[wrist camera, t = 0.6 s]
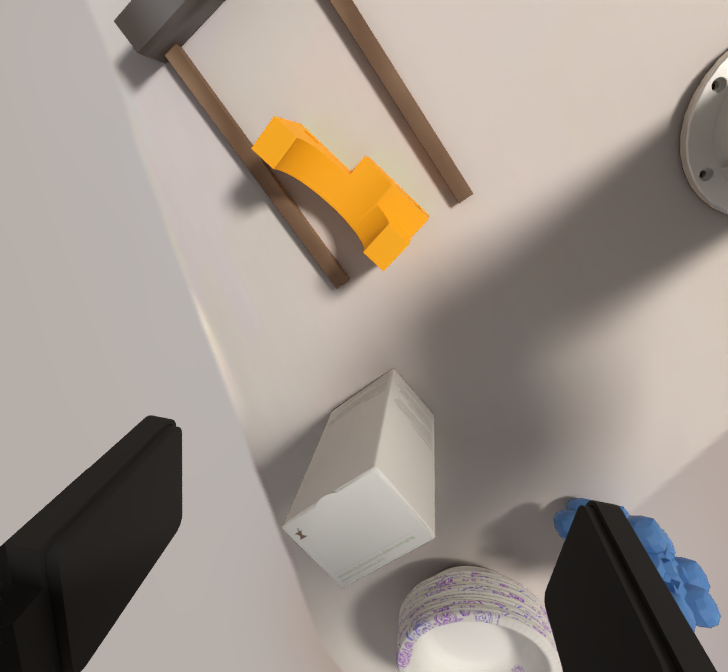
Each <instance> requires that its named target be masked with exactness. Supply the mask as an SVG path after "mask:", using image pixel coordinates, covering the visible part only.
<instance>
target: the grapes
mask: <svg viewBox="0 0 728 672" xmlns="http://www.w3.org/2000/svg"><path fill="white" fill-rule="evenodd" d="M589 501H591V500H588V499H584V498H574V499H572V500H570V501H569V502H568V504H567V506H566V508H567V510H561V511H559V512H557V513H556V514H555V517H554V525H555V528H556V530H557V531H558V533H559V535H560V536H561V537H562V538H563V539H564V540H565V539H566V537H567V534H568V532H569V529H570V527H571V524H572V521H573V519H574V516H575V514H576V511H577V509H578V507H579V506H580V505H584V506H586V504H587V502H589ZM617 506H618V505H617ZM619 507H620V508H621V509H622V511H623V512H624V514H625V516H626V518H627V519H628V521H629V523H630V524H631V526H632V528H633V529H634V531H635V533H636V535H637V536H638V538H639V540H640V541H641V543H642V545H643V547H644V548H645V550H646V552H647V553H648V555H649V557H650V558H651V560H652V562H653V564H654V565H655V567H656V569H657V570H658V572H659V574H660V575H661V577H662V579H663V581H664V582H665V584H666V586H667V587H668V589H669V591H670V592H671V594H672V596H673V598H674V599H675V601H676V603H677V604H678V606H679V608H680V610H681V611H682V613H683V615H684V616H685V618H686V620H687V621H688V623H689V625H690V627H691V628H692V630H693V632H694V631H695V627H696V626H699V627H706V628H712V627H714V626H717V625H718V624H719V621H720V617H721V616H720V613H719V610H718V607H717V604H716V603H715V601H714V600H713V599H712V597H711V595H710V594H709V589H710V585H709V582H708V579H707V576H706V574H705V573H704V571H703V570H702V569H701V567H700V566H699V564H697V562H696V561H693V560H690V559H686V558H683V557H675V553H676V552H675V549H674V546H673V543H672V541H671V540H670V538H669V537H668V535H667V534H666V533H665V532H664V530H663V529H661V528H660V526H659V525H658V523H657V522H656V521H655V520H654V519H653V518H648V517H644V516H630V515H629V513H628V512H627V511H626V509H625V508H624V507H622V506H619Z"/></svg>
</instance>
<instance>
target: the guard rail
mask: <svg viewBox="0 0 728 672" xmlns="http://www.w3.org/2000/svg"><path fill="white" fill-rule="evenodd" d="M224 1H225V0H131V2H130V3H129V4H128V5H127V6H126V7H125V9H124V10H123V11H122V12H121V13H120V14H119V16H118V17H117V18H116V19H115V20H114V22H115V23H116V25H117V26H118V27H119V29H120V30H121V31H122V33H123V34H124V35H125V37H126V38H127V39H128V41H129V42H130V43H131V45H132V46H133V47H134V49H135V50H136V51H137V53H139V54H142V55H144V56H147V57H150V58H152V59H155V60H158V61H161V62H163V63H166V62H167V61H169V62H170V63H171V65H172V66H173V67H174V69H175V70H176V71H177V73H178V74H179V75H180V77H181V78H182V80H183V81H184V82H185V84H186V85H187V86H188V88H189V89H190V90H191V92H192V93H193V94H194V96H195V97H196V99H197V100H198V101H199V103H200V104H201V105H202V107H203V108H204V109H205V111H206V112H207V113H208V115H209V116H210V118H211V119H212V120H213V122H214V123H215V124H216V126H217V127H218V128H219V130H220V131H221V132H222V134H223V135H224V137H225V138H226V139H227V141H228V142H229V143H230V145H231V146H232V147H233V149H234V150H235V151H236V153H237V154H238V156H239V157H240V158H241V160H242V161H243V162H244V164H245V165H246V166H247V168H248V169H249V170H250V172H251V173H252V175H253V176H254V177H255V179H256V180H257V181H258V183H259V184H260V185H261V187H262V188H263V189H264V191H265V192H266V194H267V195H268V196H269V198H270V199H271V200H272V202H273V203H274V204H275V206H276V207H277V208H278V210H279V211H280V213H281V214H282V215H283V217H284V218H285V219H286V221H287V222H288V223H289V225H290V226H291V227H292V229H293V230H294V232H295V233H296V234H297V236H298V237H299V238H300V240H301V241H302V242H303V244H304V245H305V246H306V248H307V249H308V251H309V252H310V253H311V255H312V256H313V257H314V259H315V260H316V261H317V263H318V264H319V265H320V267H321V268H322V270H323V271H324V272H325V274H326V275H327V276H328V278H329V279H330V280H331V282H332V283H333V284H334V286H335V287H336V289H337V288H338V287H340V286H341V285H343V284H344V283H345V282H347V281H348V280H349V277H348V276H347V275H346V273H345V272H344V270H343V269H342V268H341V266H340V265H339V264H338V262H337V261H336V259H335V258H334V257H333V255H332V254H331V253H330V251H329V250H328V248H327V247H326V246H325V244H324V243H323V242H322V240H321V239H320V237H319V236H318V235H317V233H316V232H315V231H314V229H313V228H312V226H311V225H310V224H309V222H308V221H307V219H306V218H305V217H304V215H303V214H302V213H301V211H300V210H299V208H298V207H297V206H296V204H295V203H294V202H293V200H292V199H291V197H290V196H289V195H288V193H287V192H286V191H285V189H284V188H283V186H282V185H281V184H280V182H279V181H278V180H277V178H276V177H275V175H274V174H273V173H272V171H271V170H270V168H269V167H268V166H267V164H266V163H265V162H264V160H263V159H262V158H261V157H260V156H259V155H258V154H257V153H256V152H254V151H253V150H252V149H251V148H252V147H253V145H252V144H251V142H250V141H249V140H248V138H247V137H246V135H245V134H244V133H243V131H242V130H241V129H240V127H239V126H238V124H237V123H236V122H235V120H234V119H233V117H232V116H231V115H230V113H229V112H228V111H227V109H226V108H225V106H224V105H223V104H222V102H221V101H220V100H219V98H218V97H217V95H216V94H215V93H214V91H213V90H212V89H211V87H210V86H209V84H208V83H207V82H206V80H205V79H204V78H203V76H202V75H201V73H200V72H199V71H198V69H197V68H196V66H195V65H194V64H193V62H192V61H191V60H190V58H189V57H188V55H187V54H186V53H185V51H184V50H183V49H182V47H181V46H182V45H183V44H184V43H185V42H186V41H187V40H188V39H189V38H190V37H191V36H192V35H193V34H194V32H195V31H196V30H197V29H198V28H199V27H200V26H201V25H202V24H203V23H204V22H205V21H206V20H207V19H208V18H209V17H210V15H211V14H212V13H213V12H214V11H215V10H216V9H217V8H218V7H219V6H220V5H221V4H222V3H223V2H224ZM330 1H331V2H332V4H333V6H334V7H335V9H336V10H337V12H338V13H339V15H340V17H341V18H342V20H343V21H344V23H345V24H346V26H347V28H348V29H349V31H350V32H351V34H352V35H353V37H354V39H355V40H356V42H357V43H358V45H359V46H360V48H361V50H362V51H363V53H364V54H365V56H366V57H367V59H368V61H369V62H370V64H371V65H372V67H373V68H374V70H375V72H376V73H377V75H378V76H379V78H380V79H381V81H382V83H383V84H384V86H385V87H386V89H387V90H388V92H389V93H390V95H391V97H392V98H393V100H394V101H395V103H396V104H397V106H398V108H399V109H400V111H401V112H402V114H403V115H404V117H405V119H406V120H407V122H408V123H409V125H410V126H411V128H412V130H413V131H414V133H415V134H416V136H417V137H418V139H419V141H420V142H421V144H422V145H423V147H424V148H425V150H426V152H427V153H428V155H429V156H430V158H431V159H432V161H433V163H434V164H435V166H436V167H437V169H438V170H439V172H440V174H441V175H442V177H443V178H444V180H445V181H446V183H447V185H448V186H449V188H450V189H451V191H452V192H453V194H454V196H455V197H456V199H457V200H458V202H459V203H461V202H462V201H463V200H465V199H466V198H468V197H469V196H471V195H472V194H473V192H472V191H471V189H470V188H469V186H468V185H467V183H466V181H465V180H464V178H463V177H462V175H461V173H460V172H459V170H458V169H457V167H456V165H455V164H454V162H453V161H452V159H451V157H450V156H449V154H448V153H447V151H446V149H445V148H444V146H443V145H442V143H441V141H440V140H439V138H438V137H437V135H436V133H435V132H434V130H433V129H432V127H431V125H430V124H429V122H428V121H427V119H426V117H425V116H424V114H423V113H422V111H421V110H420V108H419V106H418V105H417V103H416V102H415V100H414V98H413V97H412V95H411V94H410V92H409V90H408V89H407V87H406V86H405V84H404V82H403V81H402V79H401V78H400V76H399V74H398V73H397V71H396V70H395V68H394V66H393V65H392V63H391V62H390V60H389V58H388V57H387V55H386V54H385V52H384V50H383V49H382V47H381V46H380V44H379V42H378V41H377V39H376V38H375V36H374V34H373V33H372V31H371V30H370V28H369V27H368V25H367V23H366V22H365V20H364V19H363V17H362V15H361V14H360V12H359V11H358V9H357V7H356V6H355V4H354V3H353V1H352V0H330Z"/></svg>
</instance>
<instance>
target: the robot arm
mask: <svg viewBox="0 0 728 672" xmlns="http://www.w3.org/2000/svg"><path fill="white" fill-rule="evenodd" d="M712 83H714V84H715V88H714V89H713V90H712V86H711V85H712ZM680 155H681V161H682V166H683V170H684V173H685V175H686V177H687V180H688V182H689V184H690V186H691V187H692V188H693V190H694V191H695V192H696V194H697V195H698V196H699V197H700V198H701V199H702V200H703V201H705V202H706V203H707V204H708V205H709V206H711V207H712V208H714V209H716V210H718V211H720V212H722V213H724V214H726V215H728V51H727V52H726V53H725V54H723V55H722V56H721V57H720V58H719V59H718V60H717V61H716V63H715V64H714V65H713V66H712V68H711V69H710V70H709V71H708V72H707V74H706V75H705V76H704V77H703V79H702V81H701V82H700V84H699V86H698V87H697V89H696V91H695V92H694V94H693V96H692V98H691V101H690V103H689V106H688V108H687V111H686V113H685V116H684V120H683V125H682V130H681V134H680ZM701 171H703V175H702V176H701V177H699V174H700V172H701ZM181 519H182V431H181V428H180V427H176V423H175V421H174V420H172V419H167V418H162V417H157V416H147V417H146V418H145V419H143V420H142V421H141V422H140V423H139V424H138V425H137V426H135V427H134V428H133V429H132V430H131V431H130V432H129V433H128V434H127V435H125V436H124V437H123V438H122V439H121V440H120V441H119V442H118V443H116V444H115V445H114V446H113V447H112V448H111V449H110V450H109V451H108V452H106V453H105V454H104V455H103V456H102V457H101V458H100V459H99V460H97V461H96V462H95V463H94V464H93V465H92V466H91V467H90V468H88V469H87V470H85V471H84V472H83V473H82V474H81V475H80V476H79V477H78V478H77V479H75V480H74V481H73V482H72V483H71V484H70V485H69V486H68V487H66V488H65V489H64V490H63V491H62V492H61V493H60V494H59V495H57V496H56V497H55V498H54V499H53V500H52V501H51V502H50V503H49V504H47V505H46V506H45V507H44V508H43V509H42V510H41V511H40V512H39V513H37V514H36V515H35V516H34V517H33V518H32V519H31V520H30V521H28V522H27V523H26V524H25V525H24V526H23V527H22V528H21V529H19V530H18V531H17V532H16V533H15V534H14V535H13V536H12V537H10V538H9V539H8V540H7V541H6V542H5V543H4V544H3V545H2V546H0V672H81V671H82V670H83V669H84V667H85V666H86V665H87V663H88V662H89V660H90V659H91V657H92V656H93V654H94V653H95V652H96V650H97V649H98V647H99V646H100V644H101V643H102V641H103V640H104V638H105V637H106V635H107V634H108V632H109V631H110V629H111V628H112V627H113V625H114V624H115V622H116V620H117V619H118V618H119V616H120V615H121V613H122V612H123V610H124V609H125V607H126V606H127V604H128V603H129V601H130V600H131V598H132V597H133V596H134V594H135V592H136V591H137V590H138V588H139V587H140V585H141V584H142V582H143V581H144V579H145V578H146V576H147V575H148V573H149V572H150V570H151V569H152V568H153V566H154V564H155V563H156V562H157V560H158V559H159V557H160V556H161V554H162V553H163V551H164V550H165V548H166V547H167V545H168V544H169V542H170V541H171V539H172V538H173V537H174V535H175V534H176V532H177V530H178V528H179V526H180V523H181ZM545 608H546V612H547V616H548V619H549V623H550V627H551V630H552V634H553V637H554V641H555V644H556V648H557V652H558V655H559V659H560V662H561V666H562V669H563V672H717V671H716V669H715V667H714V666H713V664H712V662H711V661H710V659H709V657H708V656H707V654H706V652H705V651H704V649H703V647H702V645H701V644H700V642H699V640H698V639H697V637H696V635H695V633H694V632H693V630H692V628H691V627H690V625H689V623H688V621H687V620H686V618H685V616H684V615H683V613H682V611H681V610H680V608H679V606H678V604H677V603H676V601H675V599H674V598H673V596H672V594H671V592H670V591H669V589H668V587H667V586H666V584H665V582H664V581H663V579H662V577H661V575H660V574H659V572H658V570H657V569H656V567H655V565H654V564H653V562H652V560H651V558H650V557H649V555H648V553H647V552H646V550H645V548H644V547H643V545H642V543H641V541H640V540H639V538H638V536H637V535H636V533H635V531H634V529H633V528H632V526H631V524H630V523H629V521H628V519H627V518H626V516H625V514H624V512H623V511H622V509H621V508H620V507H619V506H617V505H614V504H609V503H604V502H598V501H593V500H591V501H589V502H587V504H586V506H584V505H580V506H579V507H578V509H577V511H576V514H575V516H574V519H573V521H572V524H571V527H570V529H569V532H568V534H567V537H566V539H565V542H564V545H563V547H562V550H561V552H560V555H559V557H558V560H557V563H556V565H555V568H554V570H553V573H552V575H551V578H550V581H549V583H548V586H547V588H546V591H545Z"/></svg>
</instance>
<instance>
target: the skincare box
mask: <svg viewBox="0 0 728 672" xmlns="http://www.w3.org/2000/svg"><path fill="white" fill-rule="evenodd" d="M434 418H435V417H434V415H433V414H432V412H431V411H430V410H429V409H428V408H427V406H426V405H425V404H424V403H423V402H422V401H421V399H420V398H419V397H418V396H417V395H416V394H415V392H414V391H413V390H412V389H411V388H410V387H409V385H408V384H407V383H406V382H405V381H404V380H403V378H402V377H401V376H400V375H399V374H398V373H397V371H396V370H395V369H392V370H390V371H389V372H387V373H386V374H384V375H383V376H381V377H380V378H379V379H377V380H376V381H374V382H373V383H371V384H370V385H369V386H367V387H366V388H364V389H363V390H361V391H360V392H359V393H357V394H356V395H354V396H353V397H352V398H350V399H349V400H347V401H346V402H344V403H343V404H342V405H340V406H339V407H338V408H336V409H335V410H334V411H332V412H331V414H330V417H329V419H328V422H327V424H326V426H325V429H324V431H323V434H322V436H321V438H320V441H319V443H318V445H317V448H316V450H315V452H314V455H313V457H312V459H311V462H310V464H309V466H308V469H307V471H306V473H305V476H304V478H303V480H302V483H301V485H300V487H299V490H298V492H297V494H296V497H295V499H294V501H293V504H292V506H291V508H290V511H289V513H288V515H287V517H286V520H285V522H284V523H283V525H282V529H283V530H284V531H285V532H286V533H287V534H288V535H289V536H290V537H291V538H292V539H293V540H294V541H295V542H296V543H297V544H298V545H299V546H300V547H301V548H302V549H303V550H304V551H305V552H306V553H307V554H308V555H309V556H310V557H311V558H312V559H313V560H314V561H315V562H316V563H317V564H318V565H319V566H320V567H321V568H322V569H323V570H324V571H325V572H326V573H327V574H328V575H329V576H330V577H331V578H332V579H333V580H334V581H335V582H336V583H337V584H338V585H339V586H340V587H341V588H343V587H345V586H347V585H349V584H351V583H352V582H354V581H356V580H358V579H360V578H362V577H363V576H365V575H367V574H369V573H371V572H373V571H374V570H376V569H378V568H380V567H382V566H384V565H386V564H388V563H389V562H391V561H393V560H395V559H397V558H399V557H401V556H403V555H404V554H406V553H408V552H410V551H412V550H414V549H416V548H418V547H419V546H421V545H423V544H425V543H427V542H429V541H431V540H433V539H434V538H435V438H434Z"/></svg>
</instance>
